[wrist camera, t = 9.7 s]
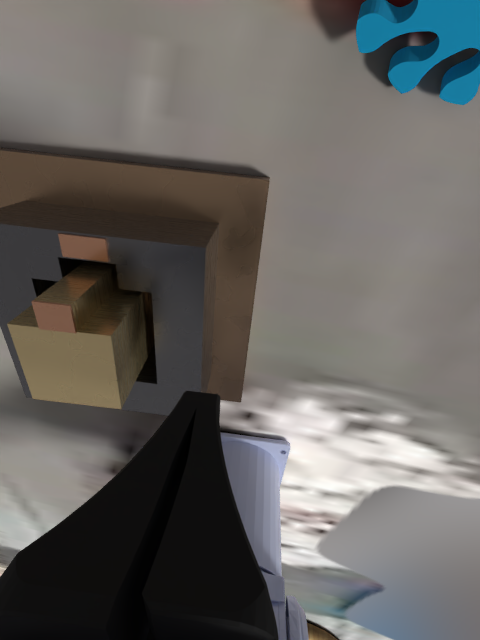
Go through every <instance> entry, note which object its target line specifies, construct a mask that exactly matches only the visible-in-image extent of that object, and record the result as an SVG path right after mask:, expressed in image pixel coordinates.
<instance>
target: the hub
mask: <svg viewBox="0 0 480 640" xmlns="http://www.w3.org/2000/svg"><path fill="white" fill-rule="evenodd" d="M269 179H270V177H261V176H252V175H243V174H234V173H225V172H216V171H207V170H198V169H189V168H180V167H171V166H162V165H152V164H143V163H134V162H125V161H116V160H107V159H98V158H89V157H80V156H71V155H62V154H53V153H44V152H35V151H26V150H17V149H7V148H0V327H1V329H2V332H3V335H4V338H5V340H6V343H7V346H8V349H9V351H10V354H11V357H12V359H13V362H14V365H15V368H16V370H17V373H18V376H19V379H20V381H21V384H22V387H23V390H24V392H25V395H26V397H29V398H32V395H31V392H30V389H29V386H28V383H27V381H26V378H25V375H24V372H23V369H22V366H21V363H20V360H19V357H18V354H17V351H16V349H15V346H14V343H13V340H12V337H11V334H10V331H9V328H8V325H7V324H8V323H9V322H10V321H11V320H13V319H14V318H15V317H17V316H18V315H19V314H21V313H22V312H23V311H25V310H26V309H27V308H28V307H30V306H31V305H32V302H31V301H33V300H34V299H35V298H37V297H38V296H39V295H41V294H42V293H43V292H45V291H46V290H47V289H49V288H50V287H51V286H53V285H54V284H55V283H57V282H58V281H59V280H61V279H62V278H63V277H65V276H66V275H67V274H69V273H70V272H71V271H73V270H74V269H75V268H77V267H78V266H79V265H81V264H82V263H83V262H85V261H94V262H102V263H111V264H116V267H117V275H118V283H119V289H124V290H133V291H141V292H149V293H152V307H153V323H154V339H155V344H154V346H153V348H152V350H151V352H150V354H149V356H148V358H147V360H146V362H145V363H144V365H143V367H142V369H141V371H140V373H139V375H138V377H137V379H136V381H135V383H134V385H133V387H132V389H131V391H130V393H129V395H128V397H127V399H126V401H125V403H124V405H123V407H122V409H121V410H128V411H136V412H144V413H151V414H159V415H167V416H169V414H170V413H171V412H172V410H173V409H174V407H175V406H176V404H177V403H178V401H179V400H180V398H181V397H182V395H183V393H184V392H186V391H194V392H203V393H212V394H218V395H219V396H220V400H227V401H234V402H241V397H242V390H243V382H244V374H245V366H246V359H247V351H248V343H249V335H250V327H251V320H252V312H253V304H254V296H255V289H256V281H257V273H258V265H259V258H260V250H261V242H262V234H263V226H264V219H265V211H266V203H267V195H268V188H269ZM105 408H106V407H105ZM113 409H114V408H113Z"/></svg>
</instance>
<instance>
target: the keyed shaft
mask: <svg viewBox="0 0 480 640" xmlns="http://www.w3.org/2000/svg"><path fill="white" fill-rule="evenodd" d="M31 302H32V305H31V306H30V307H28V308H27V309H26V310H25V311H23V312H22V313H21V314H19V315H18V316H17V317H15V318H14V319H13V320H11V321H10V322H9V323H8V324H7V325H8V328H9V331H10V334H11V337H12V340H13V343H14V346H15V349H16V351H17V354H18V357H19V360H20V363H21V366H22V369H23V372H24V375H25V378H26V381H27V383H28V386H29V389H30V392H31V395H32V398H33V399H38V400H46V401H55V402H63V403H72V404H80V405H89V406H97V407H106V408H114V409H122V407H123V405H124V403H125V401H126V399H127V397H128V395H129V393H130V391H131V389H132V387H133V385H134V383H135V381H136V379H137V377H138V375H139V373H140V371H141V369H142V367H143V365H144V363H145V362H146V360H147V358H148V356H149V354H150V352H151V350H152V348H153V346H154V344H155V339H154V323H153V307H152V293H149V292H141V291H133V290H124V289H119V283H118V275H117V267H116V264H111V263H102V262H94V261H85V262H83V263H82V264H81V265H79V266H78V267H77V268H75V269H74V270H73V271H71V272H70V273H69V274H67V275H66V276H65V277H63V278H62V279H61V280H59V281H58V282H57V283H55V284H54V285H53V286H51V287H50V288H49V289H47V290H46V291H45V292H43V293H42V294H41V295H39V296H38V297H37V298H35V299H34V300H33V301H31Z"/></svg>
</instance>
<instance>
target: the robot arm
mask: <svg viewBox="0 0 480 640" xmlns="http://www.w3.org/2000/svg"><path fill="white" fill-rule="evenodd" d="M219 416H220V396H219V395H218V394H212V393H203V392H194V391H186V392H184V393H183V395H182V397H181V398H180V400H179V401H178V403H177V404H176V406H175V407H174V409H173V410H172V412H171V413H170V414H169V416H168V417H167V418H166V420H165V421H164V422H163V424H162V425H161V426H160V427H159V429H158V430H157V431H156V433H155V434H154V435H153V436H152V437H151V439H150V440H149V441H148V442H147V443H146V444H145V445H144V447H143V448H142V449H141V450H140V451H139V452H138V453H137V455H136V456H135V457H134V458H133V459H132V460H131V461H130V462H129V463H128V464H127V465H126V466H125V467H124V468H123V469H122V470H121V471H120V472H119V473H118V474H117V475H116V476H115V477H114V478H113V479H112V480H110V481H109V482H108V483H107V484H106V485H105V486H104V487H103V488H102V489H101V490H100V491H98V492H97V493H96V494H95V495H94V496H93V497H92V498H90V499H89V500H88V501H87V502H86V503H84V504H83V505H82V506H81V507H79V508H78V509H77V510H76V511H74V512H73V513H72V514H71V515H69V516H68V517H67V518H66V519H64V520H63V521H62V522H60V523H59V524H58V525H57V526H55V527H54V528H52V529H51V530H50V531H48V532H47V533H45V534H44V535H43V536H41V537H40V538H38V539H37V540H36V541H34V542H33V543H31V544H30V545H29V546H27V547H26V548H24V549H23V550H22V551H20V552H19V553H18V554H17V555H16V556H15V558H14V559H13V560H12V562H11V563H10V565H9V566H8V567H7V569H6V570H5V571H4V573H3V574H2V576H1V577H0V640H309V637H308V628H307V621H306V615H305V611H304V610H303V608H302V607H301V606H300V604H299V603H298V602H297V599H296V597H294V596H287V597H286V614H285V587H284V577H282V572H281V526H280V484H281V481H282V477H283V473H284V470H285V466H286V462H287V459H288V455H289V451H290V443H289V442H287V441H283V440H275V439H268V438H260V437H252V436H245V435H237V434H230V433H222V432H220V426H219Z"/></svg>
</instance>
